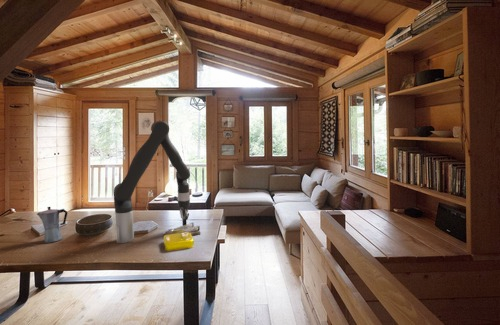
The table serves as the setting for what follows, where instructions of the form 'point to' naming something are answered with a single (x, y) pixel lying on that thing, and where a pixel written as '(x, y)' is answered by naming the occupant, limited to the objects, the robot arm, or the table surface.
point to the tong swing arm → (185, 226)
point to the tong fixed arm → (184, 230)
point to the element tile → (178, 241)
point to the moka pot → (52, 224)
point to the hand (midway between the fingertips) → (184, 225)
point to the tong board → (189, 232)
